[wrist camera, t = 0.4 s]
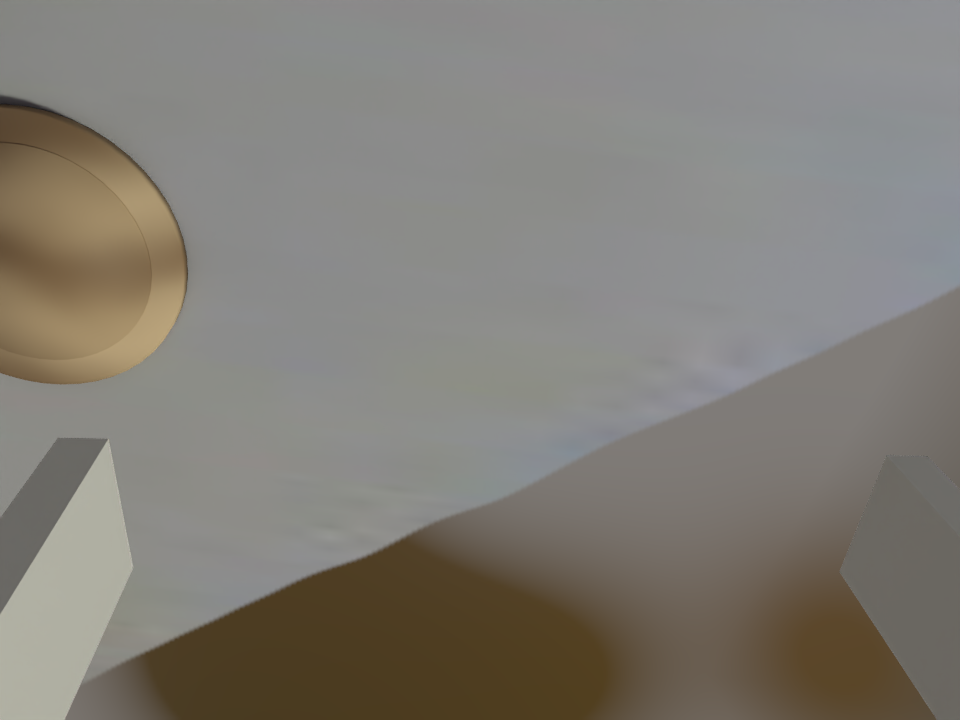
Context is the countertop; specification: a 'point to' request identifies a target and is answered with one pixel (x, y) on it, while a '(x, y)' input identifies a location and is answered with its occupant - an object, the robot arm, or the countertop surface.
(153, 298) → the coaster
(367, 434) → the countertop surface
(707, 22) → the countertop surface
